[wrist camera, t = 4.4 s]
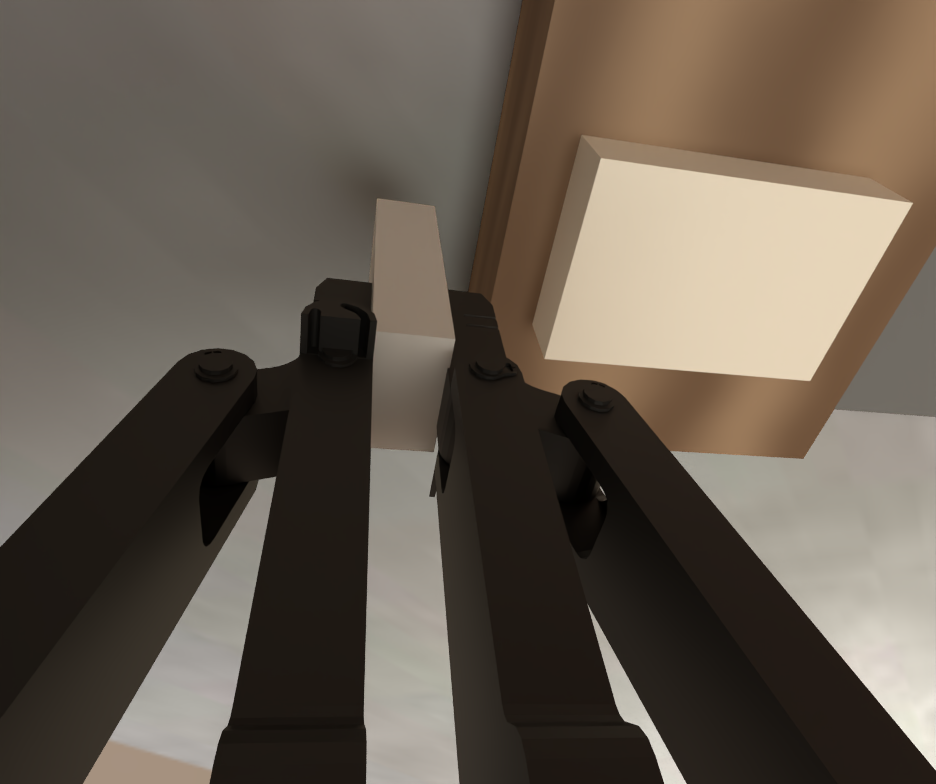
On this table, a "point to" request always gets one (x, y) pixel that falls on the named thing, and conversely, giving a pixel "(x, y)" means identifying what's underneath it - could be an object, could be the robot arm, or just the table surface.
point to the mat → (902, 357)
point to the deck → (719, 133)
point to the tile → (708, 261)
